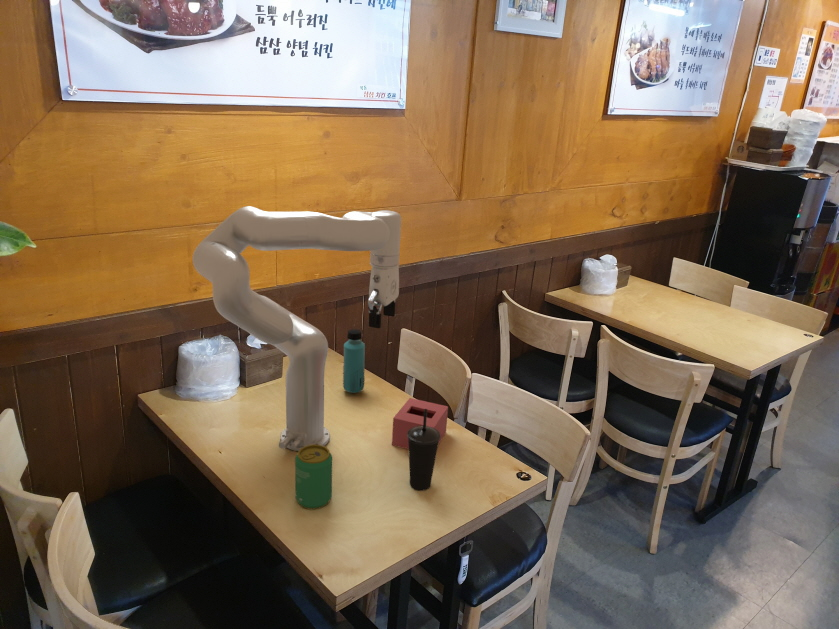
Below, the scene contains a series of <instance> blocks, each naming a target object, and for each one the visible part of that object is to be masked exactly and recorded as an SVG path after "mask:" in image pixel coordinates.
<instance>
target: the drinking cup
mask: <svg viewBox="0 0 839 629" xmlns="http://www.w3.org/2000/svg"><path fill="white" fill-rule="evenodd" d="M426 420H427V409H424V420H423V426H416V427H413V428H411V429H410V430H409V431H408V432H407V437H408V443H409V449H408V461H409V462H408V466H409V467H408V468H409V470H408V471H409V486H410V487H411V488H412V489H413V490H415V491H420V492H422V491H426V490H428V489H429V488H430V487H431V484H432V479H433V473H434V469H435V463H436V458H437V452H438V446H439V444H438V442H439V440H440V437H441V435H440V433H439V431H438V430H436V429H435V428H432V427H429V426H426Z"/></svg>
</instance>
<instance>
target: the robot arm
mask: <svg viewBox="0 0 839 629" xmlns="http://www.w3.org/2000/svg"><path fill="white" fill-rule="evenodd" d="M401 229H402V216H401V214H400V213H399V212H396V211H393V210H387V209H386V210H377V211H373V212H372V211H371V212H370V211H358V210H356V211H355V210H353V211H349V212H347V213H345V214H344V215H343V216H342V217H337V216H333V215H328V214H325V213H322V212H316V211H266V210H263V209H260V208H257V207H255V206H250V205H249V206H248V205H247V206H242V207H240V208H238V209H237V210H236V211H234V212H232V213H231V214H230V215H228V217H227V218H225V219H224V220H223V221H222V222H221V223H220V224H219V225H217V227H216V228H215V229H213V230H212V231H211V232H210V233H209V234H208V235H206V237H205V238H204V239H202V241H200V243H199V244H198V245H197V246H196V248H195V249H194V251H193V254H192V264H193V267H194V270H195V271H196V272H197V273H198V274H199V275H200V276H201V277H203V278H204V279H205V280H208V282H210V283H211V285H212V299H213V300H212V301H213V304H214V307H215V309H216V311H217V313H219V315H221V317H223V318H224V319H225V320H227V321H229V322H230V323H232V324H234V325H235V326H237V327H239V328H240V329H241V330H243V331H245V332H247V333H248V334H250V335H251V336H252V337H254V338H255V339H256V340H258V341H260V342H263V343H265V344H268V345H272V347H275V348H277V349H278V350H279V351H280V352H282V353H283V354H284V355H286V356H287V357H288V358H289V363H288V366H287V368H286V372H285V410H286V411H285V412H286V414H285V416H286V417H285V418H286V421H285V422H286V426H285V427H286V428H284V429H283V430H282V431H281V432H280V442H279V443H278V448H279V449H280V450H285V449H286V448H287V449H289V450H291V451H295V452H299V450H300V449H301V448H303V447H305V446H307V445H322V446H324V447H326V445H327V444H328V443H329V442H330V438H331V434H330V431H329V430H328V429H327V428H326V427H325V371H326V370H325V368H326V367H325V366H326V363H327V362H326V361H327V357H328V351H329V343H328V340H327V338H326V336H325V335H324V333H323V332H322V331H321V330H320V329H318V328H317V327H315V326H314V325H312V324H311V323H309V322H307V321H306V320H304V319H302V318H301V317H299V316H297V315H296V314H294V313H293V312H291V311H290V310H288V309H287V308H284V307H283V306H281V305H280V304H279V303H277V302H276V301H274V300H272V299H271V298H270V297H267V296H266V295H261V294H259V293H257V292H256V291H254V290H252V288H251V285H250V283H251V282H250V280H251V279H250V275H251V274H250V267H249V264H248V262H247V260H246V258H245V257H244V256H243V254H242V253H243V252H244V251H245V250H246V248H247V247H251V248H253V249H255V250H258V251H262V252H263V251H264V252H265V251H267V252H268V251H269V252H270V251H284V250H285V251H286V250H287V251H288V250H307V249H310V250H312V249H313V250H320V251H321V250H324V251H337V252H338V251H340V252H368V251H369V252H370V254H369V256H370V257H369V265H370V266H371V270H370V276H369V277H370V278H369V287H368V288H369V289H368V290H369V291H368V300H367V309H368V327H370V328H373V329H374V328H375V329H381V327H382V313H381V311H383V315H384V316H386V317H392V318H393V317H395V315H396V301H397V299H398V298H399V294H400V269H399V267H400V252H401V251H400V250H401V233H402V232H401V231H402V230H401ZM382 309H383V310H382Z"/></svg>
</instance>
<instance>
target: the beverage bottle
mask: <svg viewBox="0 0 839 629" xmlns="http://www.w3.org/2000/svg"><path fill="white" fill-rule="evenodd" d="M361 339H362V331H361V330H360V329H356V328H354V329H349V330H348V331H347V341H346V342H344V343H343V367H342V371H343V372H342V382H343V383H342V387H343V390H344V391H345V392H348V393H351V394H352V393H356V394H357V393H360V392H362V391H363V390H364V388H365V380H366V378H365V376H366V375H365V362H366V361H365V360H366V359H365V357H366V356H365V352H366V350H365V348H366V345H365V343H364V342H363V341H362V340H361Z"/></svg>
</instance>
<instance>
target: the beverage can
mask: <svg viewBox="0 0 839 629" xmlns="http://www.w3.org/2000/svg"><path fill="white" fill-rule="evenodd" d="M294 462H295V463H294V467H295V470H294V476H295V478H294V480H295V482H294V484H295V485H294V487H295V491H294V492H295V496H294V497H295V500H296V501H297V504H298V505H299V506H300V507H302V508H304V509H306V510H318V509H322V508H324V507H325V506H326V505H328V504H329V502H330V500H331V499H332V497H333V495H332V494H333V455H332V453H331V452H330V450H329V448H328V447H327V446H322V445H307V446H305V447H303V448H301V449H300V450H299V451H297V454H296V455H295V458H294Z"/></svg>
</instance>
